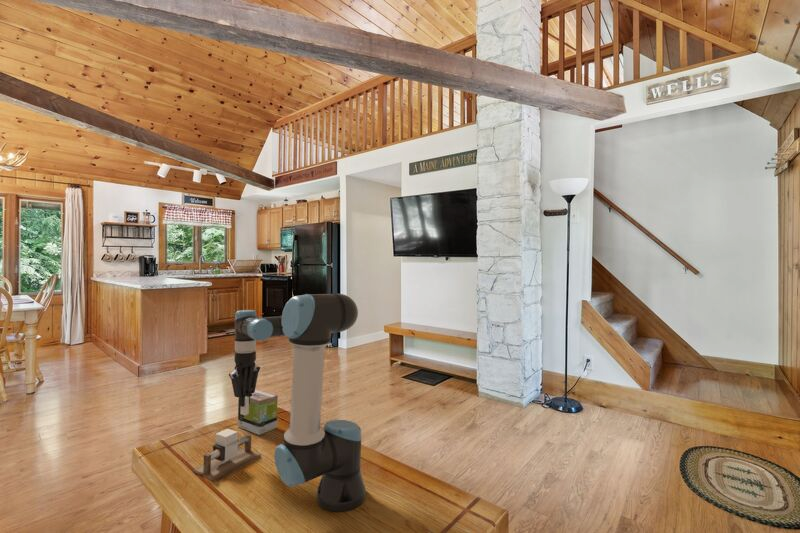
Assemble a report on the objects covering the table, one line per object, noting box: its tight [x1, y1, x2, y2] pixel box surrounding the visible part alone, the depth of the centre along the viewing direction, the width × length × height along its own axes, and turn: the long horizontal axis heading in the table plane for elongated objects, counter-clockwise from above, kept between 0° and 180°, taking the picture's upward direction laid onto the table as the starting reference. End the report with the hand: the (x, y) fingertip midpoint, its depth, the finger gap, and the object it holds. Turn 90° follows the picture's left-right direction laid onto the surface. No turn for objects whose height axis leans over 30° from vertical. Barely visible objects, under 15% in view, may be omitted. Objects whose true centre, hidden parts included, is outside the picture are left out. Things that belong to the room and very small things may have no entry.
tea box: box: [237, 388, 279, 436], centre depth 169 cm, size 15×10×15 cm, turn 58°
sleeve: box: [214, 428, 239, 462], centre depth 137 cm, size 5×5×9 cm
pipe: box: [208, 435, 249, 460], centre depth 138 cm, size 3×16×3 cm, turn 154°
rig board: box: [192, 433, 262, 482], centre depth 138 cm, size 12×19×7 cm, turn 154°
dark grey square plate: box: [212, 444, 225, 461], centre depth 134 cm, size 5×1×5 cm, turn 64°
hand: (244, 414), depth 144 cm, fingers closed
